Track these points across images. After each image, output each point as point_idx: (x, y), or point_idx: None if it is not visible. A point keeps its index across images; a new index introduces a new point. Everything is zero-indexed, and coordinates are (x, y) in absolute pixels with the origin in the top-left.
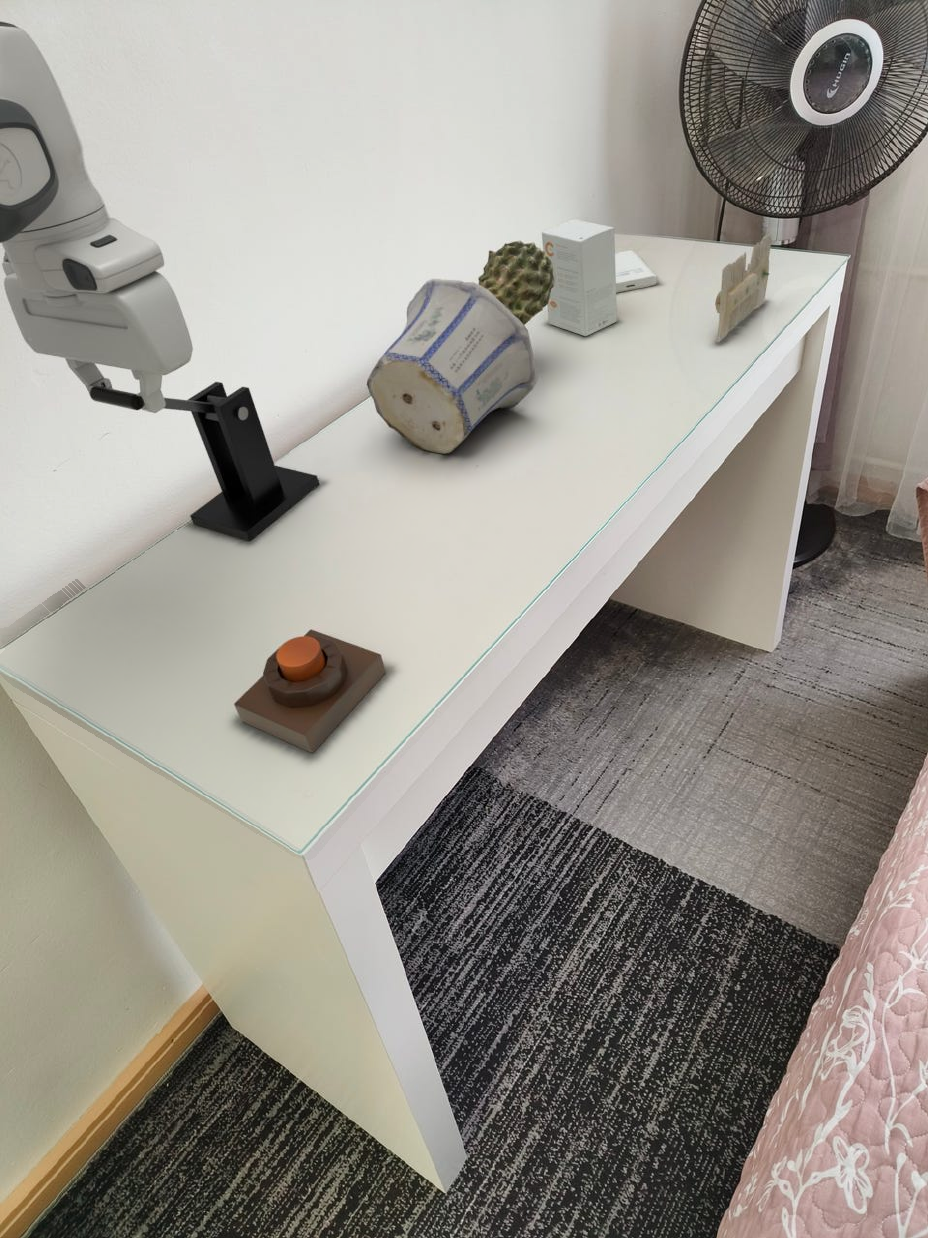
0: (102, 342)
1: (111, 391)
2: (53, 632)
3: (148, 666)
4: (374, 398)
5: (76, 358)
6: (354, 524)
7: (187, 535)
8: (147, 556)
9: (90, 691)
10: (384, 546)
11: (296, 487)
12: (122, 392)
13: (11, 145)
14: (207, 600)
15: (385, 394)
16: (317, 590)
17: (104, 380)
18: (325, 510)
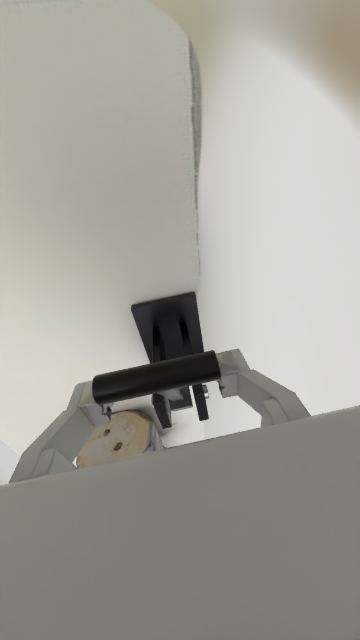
0: (36, 583)
1: (160, 385)
2: (161, 93)
3: (17, 137)
4: (149, 435)
5: (229, 440)
6: (88, 354)
7: (185, 280)
8: (190, 243)
9: (13, 50)
10: (47, 352)
11: (152, 356)
12: (131, 394)
13: None
14: (82, 240)
15: (134, 443)
16: (28, 301)
17: (226, 392)
18: (120, 352)
